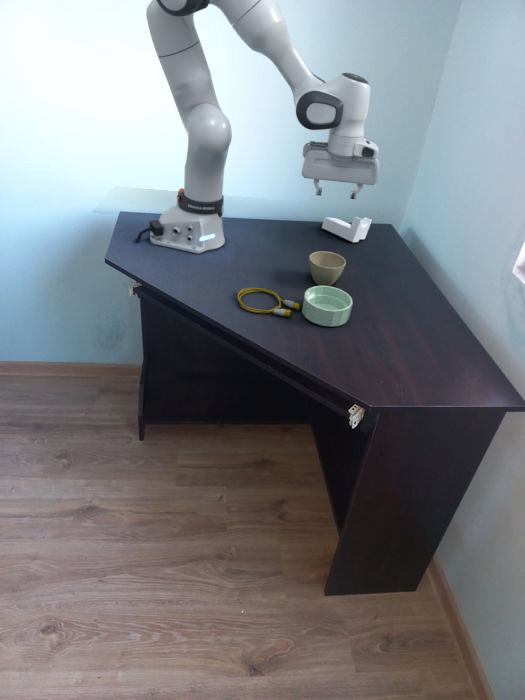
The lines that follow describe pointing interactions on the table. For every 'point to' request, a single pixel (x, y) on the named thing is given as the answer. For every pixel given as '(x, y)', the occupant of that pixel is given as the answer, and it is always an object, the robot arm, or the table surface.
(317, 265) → the flower pot
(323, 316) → the bowl
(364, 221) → the bracket
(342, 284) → the table surface
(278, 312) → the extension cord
